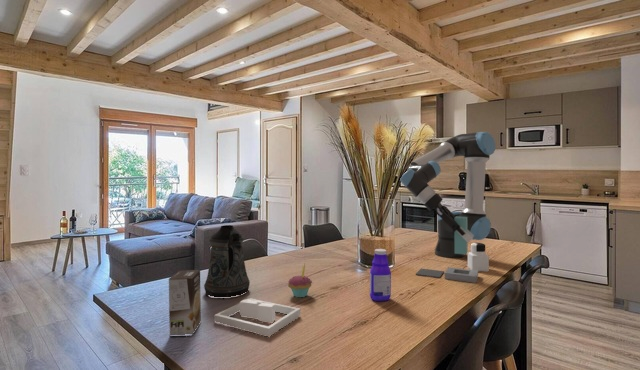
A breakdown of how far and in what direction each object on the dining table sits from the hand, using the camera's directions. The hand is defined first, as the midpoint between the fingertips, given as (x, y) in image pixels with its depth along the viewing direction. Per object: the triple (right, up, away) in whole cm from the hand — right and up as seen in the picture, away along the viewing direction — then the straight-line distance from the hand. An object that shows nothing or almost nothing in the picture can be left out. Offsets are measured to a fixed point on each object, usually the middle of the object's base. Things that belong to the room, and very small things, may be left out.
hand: (471, 239), depth 146 cm
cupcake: (-70, -18, -18) cm, 74 cm away
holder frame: (-81, -18, -39) cm, 92 cm away
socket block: (-3, -17, +3) cm, 17 cm away
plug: (-3, -6, +2) cm, 7 cm away
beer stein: (-96, -18, -14) cm, 99 cm away
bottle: (-41, -18, -22) cm, 50 cm away
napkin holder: (-81, -19, -39) cm, 92 cm away
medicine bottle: (+10, -16, +15) cm, 24 cm away
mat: (-14, -16, +9) cm, 24 cm away
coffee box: (-101, -19, -45) cm, 112 cm away
